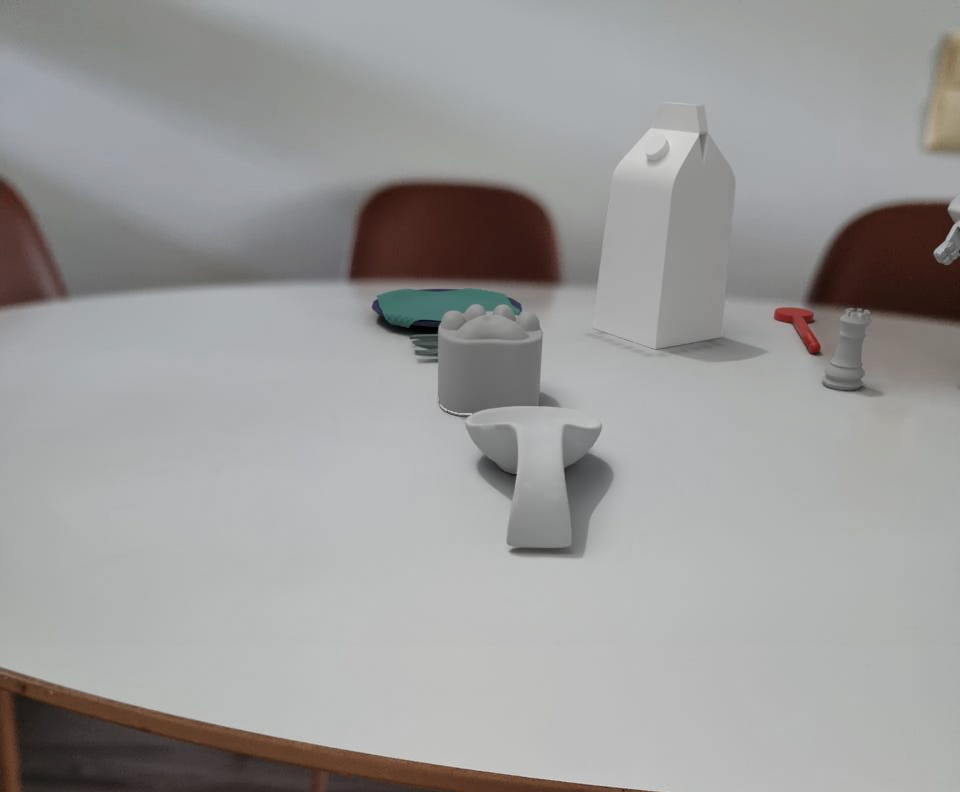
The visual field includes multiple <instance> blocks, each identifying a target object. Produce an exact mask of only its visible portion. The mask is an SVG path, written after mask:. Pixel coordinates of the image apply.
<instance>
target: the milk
mask: <svg viewBox="0 0 960 792" xmlns="http://www.w3.org/2000/svg"><path fill="white" fill-rule="evenodd" d="M735 196H736V176H735V173H734V171H733V169H732V167H731V165H730V163H729V162H728V160H727V159H726V157H725V156H724V154H723V153H722V151H721V150H720V148H719V147H718V145H717V144H716V143H715V141H714V139H713V138H712V136H711V134H709V127H708V120H707V114H706V108H705V104H696V103H683V102H671V101H660V102H659V105H658V107H657V110H656V112H655V115H654V118H653V120H652V123H651V125H650V128H649V129H648V130H647V131H646V132H645V134H644V135H643V136H642V137H641V138H640V139H639V140H638V141H637V142H636V143H635V144H634V146H632V148H630V150H629V151H628V152H627V153H626V155H624V156H623V158H622V159H621V160H620V161H619V163H618V164H617V166H616V167H615V169H614V171H613V173H612V176H611V180H610V185H609V193H608V201H607V209H606V217H605V225H604V233H603V238H602V239H603V240H602V247H601V255H600V263H599V270H598V277H597V285H596V292H595V299H594V300H595V301H594V308H593V314H592V323H591V329H592V330H593V329H594V330H596V331H599V332H603V333H605V334H608V335H610V336H611V335H612V336H614V337H618V338H621V339H623V340H626V341H629V342H632V343H635V344H637V345H641V346H644V347H646V348H650V349H653V350H659V349H664V348H670V347H677V346H682V345H686V344H692V343H697V342H698V343H699V342H703V341H710V340H715V339H721V338H722V335H723V334H722V333H723V325H724V324H723V323H724V314H725V313H724V312H725V304H726V303H725V302H726V294H727V293H726V292H727V282H728V281H727V279H728V271H729V260H730V249H731V239H732V229H733V228H732V227H733V219H734V208H735Z"/></svg>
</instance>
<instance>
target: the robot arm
mask: <svg viewBox="0 0 960 792" xmlns="http://www.w3.org/2000/svg"><path fill="white" fill-rule="evenodd" d="M947 213H948V215H949V216H950V218H951V220H952V221H953V223H954V224H953V225H952V227H951V228H950V231H949V232H948V234H947V236H946V238H945V240H944V241H943V242H942V243H941V244H940V245H939V246H937V247H936V248H935V250H934V251H933V256H934V259H936V261H937V263H939V264H942V265H945V266H949V265H951V264H952V263H953V261H955V260H957V259H958V258H959V257H960V193H958V194H957V195H956V196H955V197H954V198H953V199H952V200H951V201H950V203H949V204H948V207H947Z"/></svg>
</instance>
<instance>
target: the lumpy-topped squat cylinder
mask: <svg viewBox="0 0 960 792" xmlns="http://www.w3.org/2000/svg"><path fill="white" fill-rule="evenodd" d="M540 323H541V322H540V320H539V317H538V316H537V315H536V314H535V313H533V312H532V311H524V312H523V313H522V312H521V313H520V315H519V316H517V315H514V313H513V311H512V309H511V308H510V307H509V306H508V305H499V306H497V307H496V308H495V309H494V311H485V309H484V308H483V307H482V306H481V305H478V304H474V305H472V306H470V307H469V308H468V309H467V310H466V311H465V313H464V314H461V313H460V312H459V311H448V312H446V313H445V314H444V316H443V318H442V321H441V323H440V325H439V327H437V328H438V330H437V334H438V355H437V399H438V398H439V401H438V400H437V402H438V405H439V408H440V409H441V410H442V411H443V412H445V413H446V414H450V415H454V416H459V417H469V416H470V415H458V414H453V413H450V412H447V411H445V410H444V409H442V408H441V407H440V404H441V405H442V406H443V407H444V408H446V409H447V410H450V411H453V412H457V413H472V414H474V413H476V412H479V411H482V410H487V409H493V408H501V407H512V406H540V389H541V375H542V374H541V371H542V355H543V339H544V337H543V335H544V334H543V333H544V332H543V330H542V328H541V324H540ZM439 402H440V404H439Z"/></svg>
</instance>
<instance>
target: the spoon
mask: <svg viewBox="0 0 960 792" xmlns="http://www.w3.org/2000/svg"><path fill="white" fill-rule="evenodd" d="M814 316H815V313H814V312H813V311H812V310H809V309H806V308H802V307H801V308H800V307H789V306H785V307H777V308H776V309H774V313H773V318H774V319H775V320H777V321H779V322H783V323H788V324H793V326H794V327H795V329H796V331H797V333H798V334H799V336H800V337H801V339H802V341H803V343H804V344H805V346H806V348H807V349H808V351H809V352H810V354H813V355H816V354H818V353H819V352H820V351H821V349H822V345H821V343H820V342H819V341H818V339H817V337H816V335H815V334H814V333H813V331H812V329H811V328H810V326H809V325H808V323H812V322H813V320H814Z"/></svg>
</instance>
